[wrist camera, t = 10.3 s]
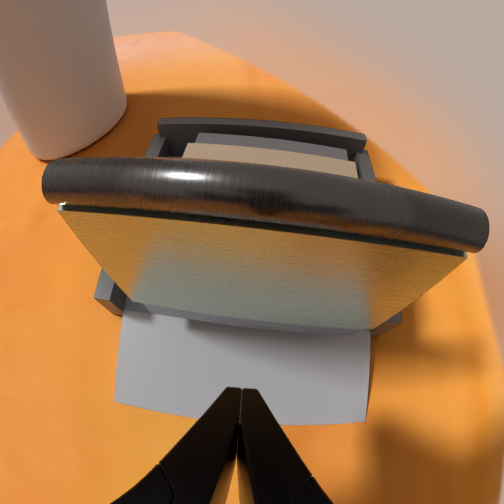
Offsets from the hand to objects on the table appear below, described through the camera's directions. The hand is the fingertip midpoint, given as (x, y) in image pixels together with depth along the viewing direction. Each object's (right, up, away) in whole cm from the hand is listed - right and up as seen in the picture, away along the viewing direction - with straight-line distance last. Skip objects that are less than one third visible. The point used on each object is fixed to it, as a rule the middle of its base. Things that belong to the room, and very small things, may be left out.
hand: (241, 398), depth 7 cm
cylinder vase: (-19, +18, +18) cm, 32 cm away
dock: (0, +3, +11) cm, 12 cm away
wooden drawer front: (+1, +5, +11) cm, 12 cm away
